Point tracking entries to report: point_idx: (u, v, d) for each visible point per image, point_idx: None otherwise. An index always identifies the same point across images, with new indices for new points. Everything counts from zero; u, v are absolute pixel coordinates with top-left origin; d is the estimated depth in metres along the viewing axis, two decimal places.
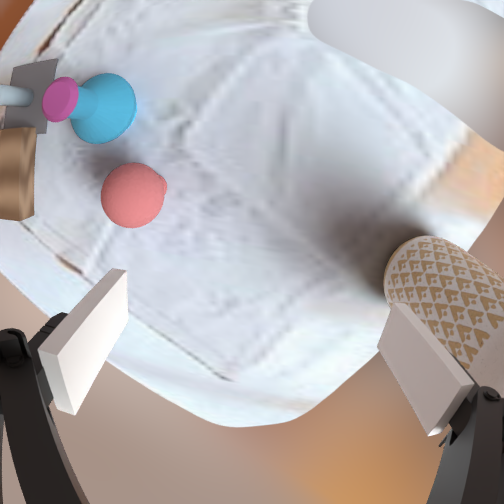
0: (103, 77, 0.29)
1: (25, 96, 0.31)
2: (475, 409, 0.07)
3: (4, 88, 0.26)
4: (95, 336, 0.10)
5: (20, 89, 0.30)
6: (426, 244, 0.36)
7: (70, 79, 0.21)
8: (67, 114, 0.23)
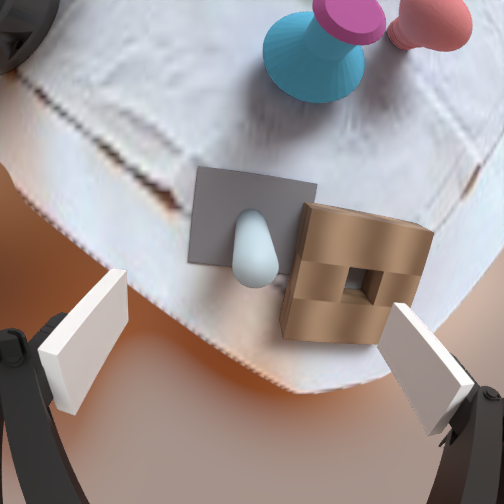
0: (274, 39, 0.21)
1: (254, 213, 0.29)
2: (475, 409, 0.07)
3: (246, 227, 0.24)
4: (95, 336, 0.10)
5: (243, 218, 0.28)
6: None
7: None
8: (377, 2, 0.13)
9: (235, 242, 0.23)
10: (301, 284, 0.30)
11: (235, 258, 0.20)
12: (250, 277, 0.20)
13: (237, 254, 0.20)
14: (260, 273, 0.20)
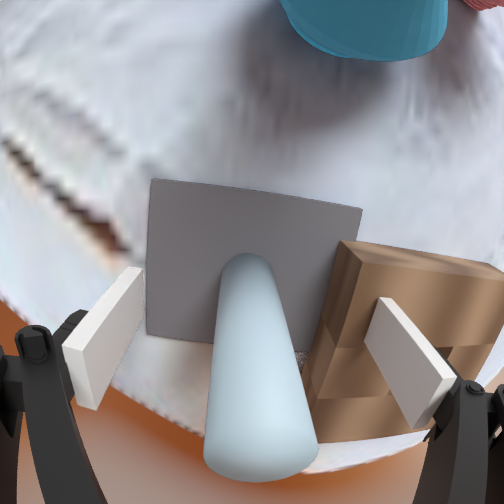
0: None
1: (254, 267, 0.15)
2: (458, 403, 0.07)
3: (237, 323, 0.11)
4: (115, 332, 0.10)
5: (232, 281, 0.14)
6: None
7: None
8: None
9: (213, 364, 0.10)
10: (332, 380, 0.16)
11: (209, 446, 0.06)
12: (249, 471, 0.07)
13: (214, 440, 0.06)
14: (272, 465, 0.07)
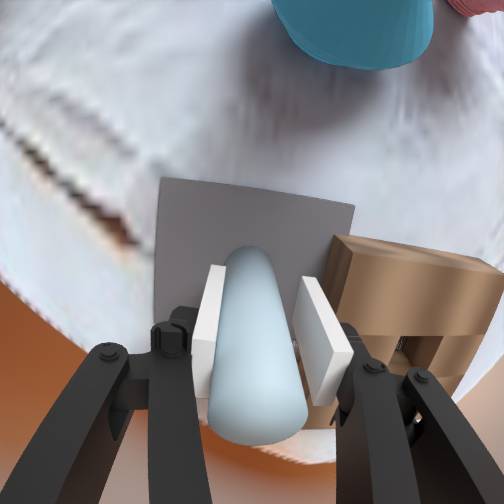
0: None
1: (254, 258, 0.17)
2: (358, 387, 0.08)
3: (239, 305, 0.12)
4: None
5: (234, 270, 0.16)
6: None
7: None
8: None
9: (217, 340, 0.11)
10: None
11: (213, 406, 0.08)
12: (248, 433, 0.08)
13: (217, 399, 0.08)
14: (268, 427, 0.08)
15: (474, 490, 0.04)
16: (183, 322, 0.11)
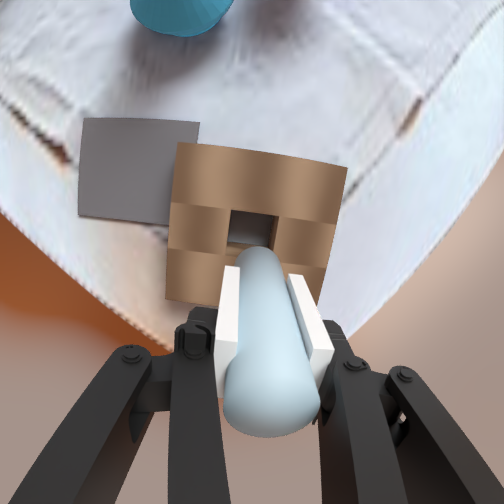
0: None
1: (263, 258, 0.17)
2: (339, 385, 0.08)
3: (251, 302, 0.13)
4: None
5: (245, 269, 0.16)
6: None
7: None
8: None
9: None
10: (174, 231, 0.25)
11: (229, 397, 0.08)
12: (261, 424, 0.09)
13: (233, 391, 0.08)
14: (281, 418, 0.09)
15: (464, 492, 0.04)
16: (201, 323, 0.11)
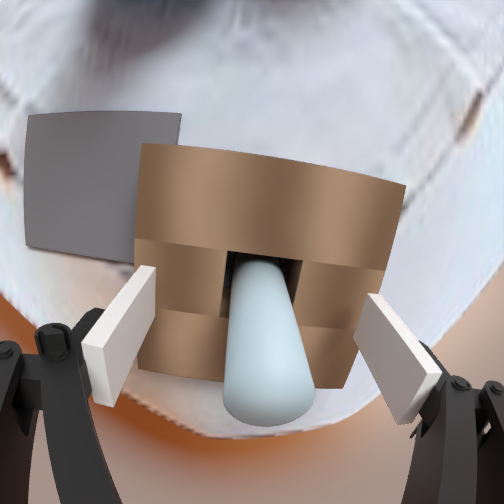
0: None
1: None
2: (444, 400, 0.08)
3: (249, 296, 0.13)
4: (131, 330, 0.11)
5: (244, 265, 0.17)
6: None
7: None
8: None
9: (230, 329, 0.12)
10: None
11: (228, 387, 0.09)
12: (260, 413, 0.09)
13: (232, 381, 0.09)
14: (278, 407, 0.09)
15: None
16: (91, 325, 0.10)
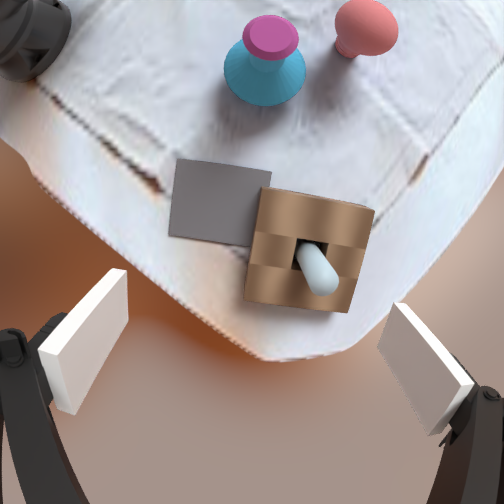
0: (231, 58, 0.28)
1: (309, 241, 0.38)
2: (475, 409, 0.07)
3: (310, 254, 0.34)
4: (95, 336, 0.10)
5: (302, 245, 0.37)
6: None
7: (249, 22, 0.20)
8: (292, 26, 0.20)
9: (305, 264, 0.32)
10: (256, 251, 0.37)
11: (311, 276, 0.29)
12: (320, 289, 0.30)
13: (313, 274, 0.29)
14: (326, 286, 0.30)
15: None
16: None
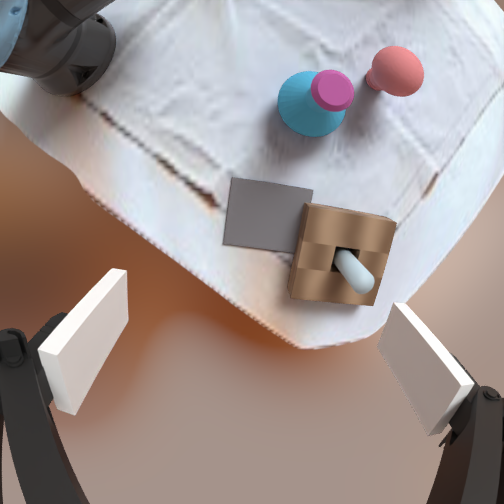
0: (285, 94, 0.35)
1: (343, 247, 0.46)
2: (475, 409, 0.07)
3: (349, 260, 0.41)
4: (95, 336, 0.10)
5: (339, 251, 0.44)
6: None
7: (316, 76, 0.27)
8: (349, 81, 0.27)
9: (346, 269, 0.40)
10: (303, 258, 0.44)
11: (354, 279, 0.36)
12: (360, 288, 0.37)
13: (356, 277, 0.36)
14: (365, 286, 0.37)
15: None
16: None
